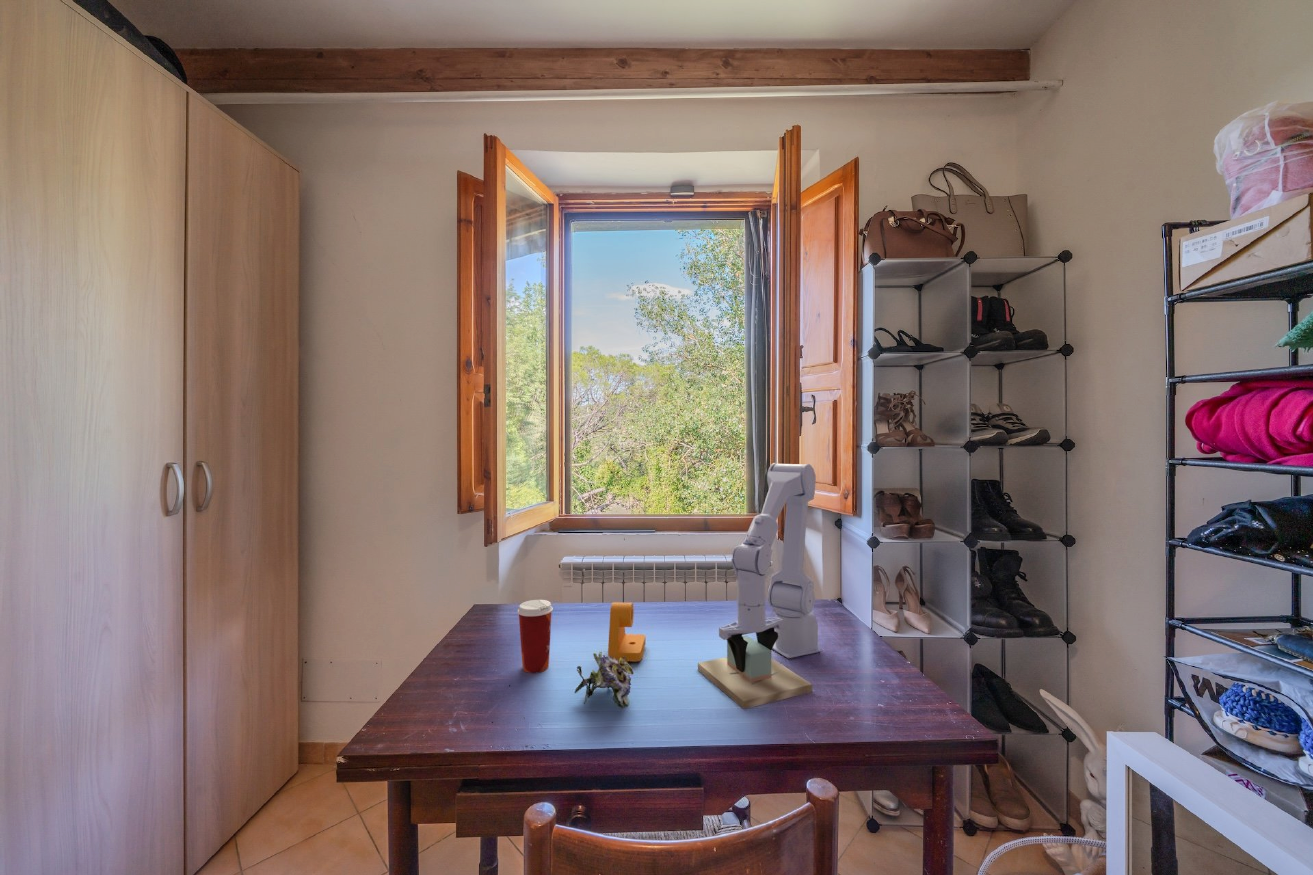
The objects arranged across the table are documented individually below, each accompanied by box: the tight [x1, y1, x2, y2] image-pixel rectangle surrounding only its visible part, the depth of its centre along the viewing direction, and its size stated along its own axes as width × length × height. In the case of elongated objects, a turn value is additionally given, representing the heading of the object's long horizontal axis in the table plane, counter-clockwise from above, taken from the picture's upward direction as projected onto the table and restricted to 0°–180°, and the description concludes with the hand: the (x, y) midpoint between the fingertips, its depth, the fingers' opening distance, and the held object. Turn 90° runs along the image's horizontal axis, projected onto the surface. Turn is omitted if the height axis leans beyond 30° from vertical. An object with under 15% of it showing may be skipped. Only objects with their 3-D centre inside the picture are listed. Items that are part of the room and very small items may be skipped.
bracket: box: [607, 601, 647, 662], centre depth 123 cm, size 11×7×12 cm, turn 174°
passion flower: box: [574, 651, 634, 709], centre depth 101 cm, size 11×11×12 cm
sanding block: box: [726, 634, 772, 682], centre depth 111 cm, size 5×9×6 cm, turn 24°
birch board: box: [697, 656, 813, 710], centre depth 110 cm, size 16×18×2 cm
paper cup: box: [517, 599, 554, 674], centre depth 116 cm, size 8×8×14 cm
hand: (751, 667), depth 110 cm, fingers closed on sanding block, 5 cm apart
